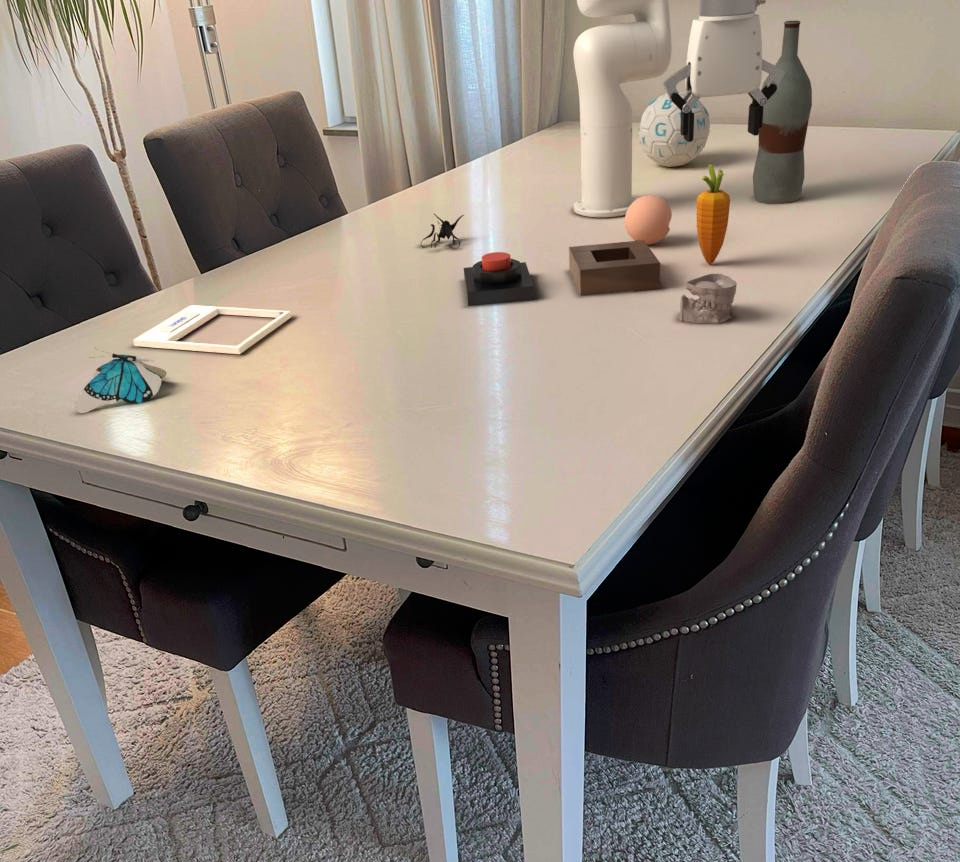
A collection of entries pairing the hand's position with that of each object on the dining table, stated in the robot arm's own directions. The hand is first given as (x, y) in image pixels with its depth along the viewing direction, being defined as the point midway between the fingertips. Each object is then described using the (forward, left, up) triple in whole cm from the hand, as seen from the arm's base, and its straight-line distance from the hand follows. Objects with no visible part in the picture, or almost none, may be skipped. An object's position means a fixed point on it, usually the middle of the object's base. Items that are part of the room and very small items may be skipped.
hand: (720, 137), depth 141 cm
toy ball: (-14, -8, -19) cm, 25 cm away
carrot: (0, -1, -19) cm, 19 cm away
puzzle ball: (-69, +9, -19) cm, 72 cm away
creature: (-24, -43, -19) cm, 53 cm away
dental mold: (+22, -7, -19) cm, 30 cm away
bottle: (-35, +21, -19) cm, 46 cm away
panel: (+3, -35, -19) cm, 40 cm away
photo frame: (+10, -78, -19) cm, 80 cm away
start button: (+3, -35, -16) cm, 38 cm away
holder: (+3, -17, -19) cm, 25 cm away
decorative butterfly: (+30, -86, -19) cm, 93 cm away
